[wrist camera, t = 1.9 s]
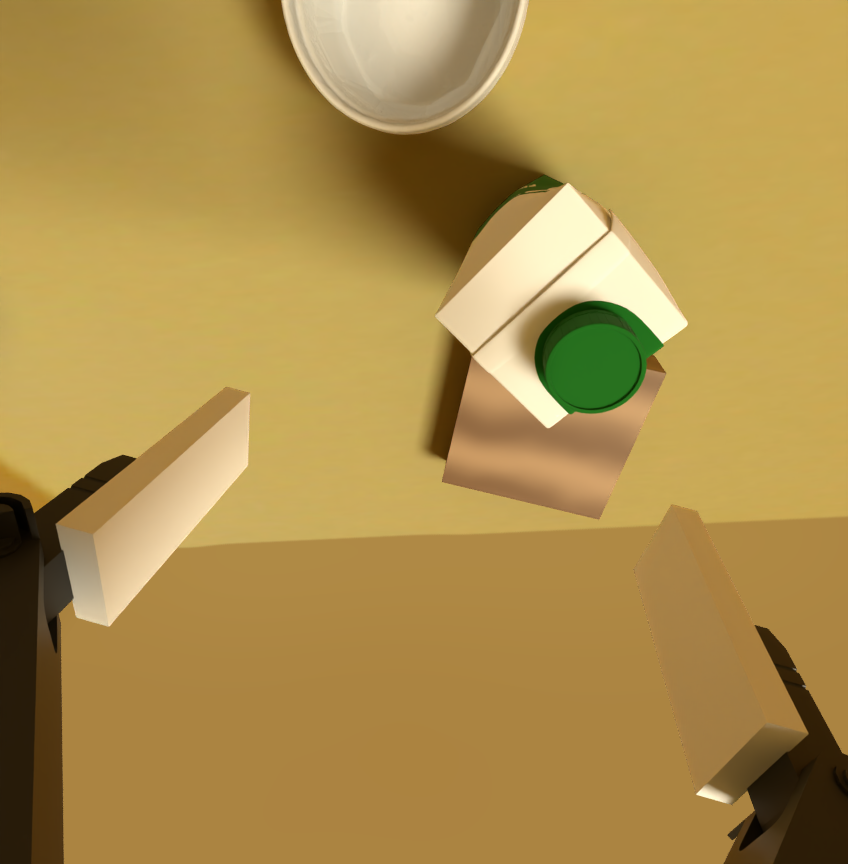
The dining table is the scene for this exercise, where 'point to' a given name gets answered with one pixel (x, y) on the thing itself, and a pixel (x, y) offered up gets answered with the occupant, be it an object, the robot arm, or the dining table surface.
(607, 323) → the soya milk
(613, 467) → the plinth
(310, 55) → the ramekin
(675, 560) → the robot arm
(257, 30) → the dining table surface
